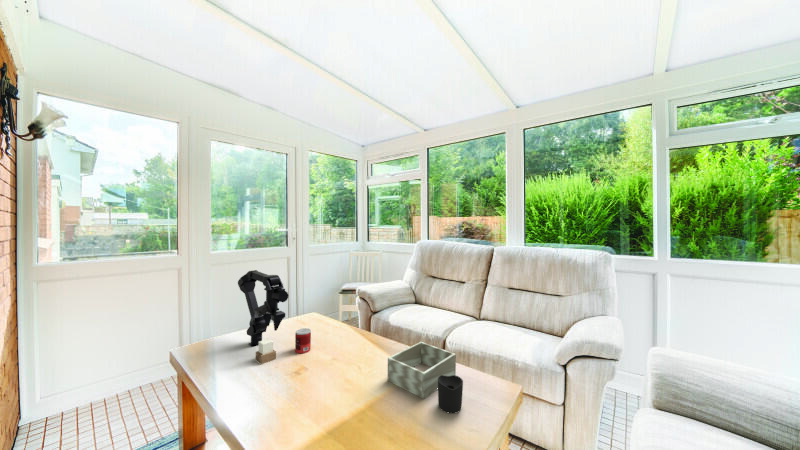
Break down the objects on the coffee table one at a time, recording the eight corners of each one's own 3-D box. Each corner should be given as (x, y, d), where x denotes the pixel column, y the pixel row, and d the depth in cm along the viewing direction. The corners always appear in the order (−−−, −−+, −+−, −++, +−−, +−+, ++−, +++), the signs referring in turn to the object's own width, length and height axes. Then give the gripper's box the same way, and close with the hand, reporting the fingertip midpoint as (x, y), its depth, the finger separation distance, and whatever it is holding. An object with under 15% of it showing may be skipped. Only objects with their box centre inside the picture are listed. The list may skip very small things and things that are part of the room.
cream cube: (258, 351, 145) (258, 341, 145) (268, 348, 149) (268, 338, 149) (262, 354, 142) (262, 344, 142) (273, 351, 146) (273, 341, 146)
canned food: (312, 348, 160) (313, 328, 160) (306, 355, 152) (307, 334, 152) (299, 347, 161) (299, 327, 161) (292, 354, 153) (292, 333, 153)
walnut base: (255, 359, 145) (255, 351, 145) (269, 355, 151) (269, 347, 151) (261, 364, 141) (261, 356, 141) (275, 359, 146) (276, 351, 146)
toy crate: (387, 380, 129) (387, 357, 129) (420, 361, 147) (420, 341, 147) (423, 399, 116) (424, 373, 116) (455, 375, 134) (455, 353, 134)
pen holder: (445, 396, 118) (445, 371, 118) (466, 405, 112) (467, 379, 112) (432, 407, 111) (433, 380, 111) (454, 418, 105) (455, 390, 105)
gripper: (249, 298, 157) (248, 327, 157) (264, 305, 144) (264, 337, 145) (269, 295, 165) (269, 322, 165) (286, 301, 153) (285, 331, 153)
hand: (271, 328), depth 157 cm, fingers open, 9 cm apart
